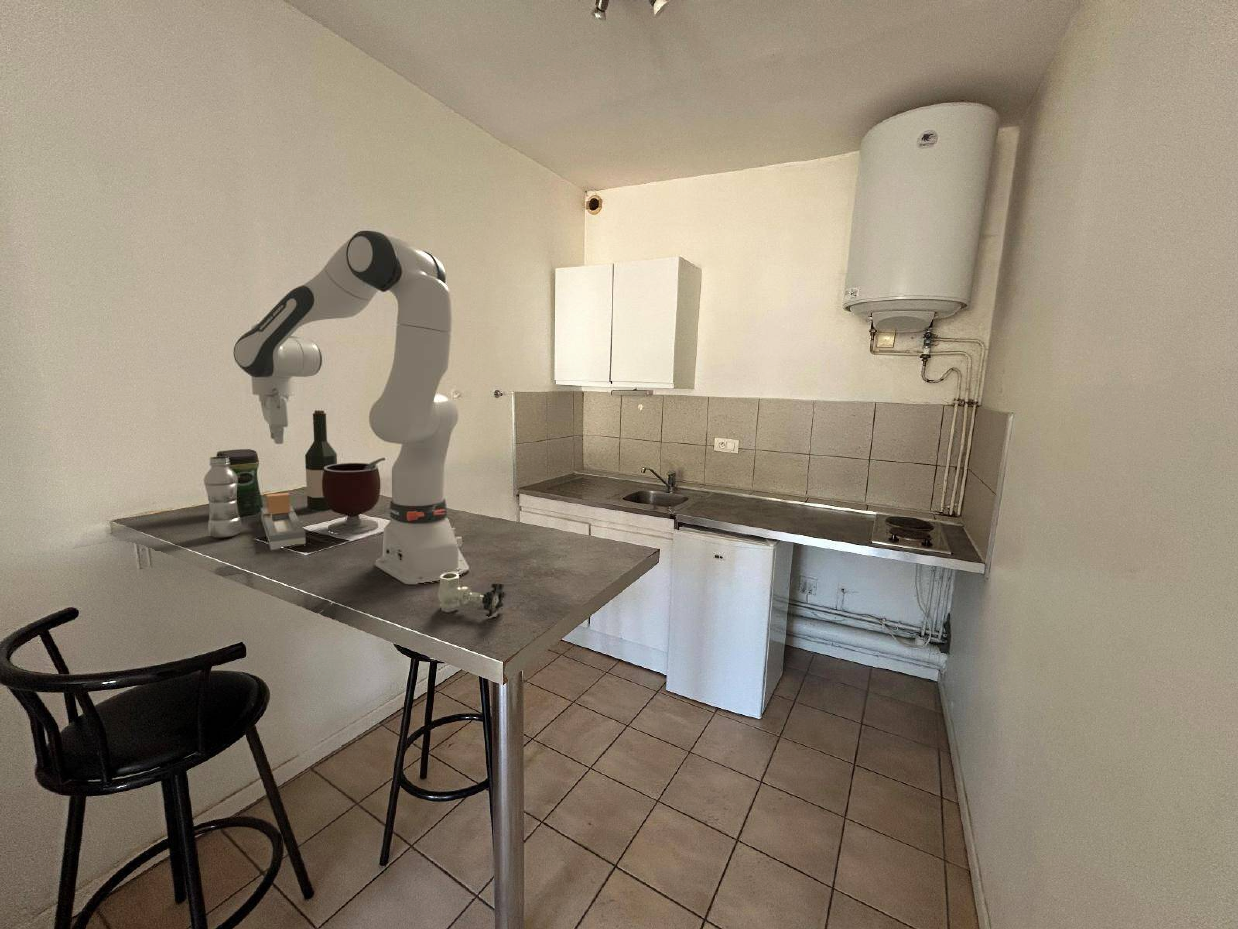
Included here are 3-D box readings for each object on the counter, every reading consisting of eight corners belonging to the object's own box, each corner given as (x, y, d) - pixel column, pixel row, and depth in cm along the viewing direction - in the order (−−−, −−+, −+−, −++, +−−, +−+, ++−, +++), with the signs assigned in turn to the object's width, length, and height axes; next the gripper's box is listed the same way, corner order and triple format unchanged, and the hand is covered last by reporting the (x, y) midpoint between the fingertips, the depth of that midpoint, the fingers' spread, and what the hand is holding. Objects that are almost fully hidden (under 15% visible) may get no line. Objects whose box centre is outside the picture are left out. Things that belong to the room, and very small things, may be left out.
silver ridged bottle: (249, 533, 125) (243, 456, 122) (225, 541, 119) (219, 460, 115) (225, 531, 126) (220, 454, 122) (201, 539, 119) (194, 458, 116)
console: (305, 545, 120) (305, 531, 119) (270, 550, 115) (269, 535, 115) (291, 516, 141) (290, 504, 140) (261, 520, 136) (260, 507, 136)
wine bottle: (336, 503, 158) (332, 409, 153) (341, 509, 151) (337, 412, 146) (305, 506, 152) (300, 409, 147) (309, 512, 146) (305, 411, 141)
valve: (428, 614, 90) (488, 626, 87) (428, 580, 89) (488, 591, 86) (449, 599, 96) (505, 610, 93) (449, 568, 95) (506, 577, 92)
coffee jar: (256, 507, 148) (252, 446, 144) (266, 512, 143) (262, 450, 140) (216, 513, 140) (211, 449, 137) (226, 519, 135) (220, 452, 132)
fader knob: (290, 518, 132) (289, 494, 131) (269, 521, 129) (267, 496, 128) (289, 515, 135) (288, 492, 134) (268, 518, 132) (266, 494, 131)
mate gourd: (314, 535, 127) (310, 459, 123) (337, 520, 140) (334, 451, 137) (377, 536, 129) (375, 461, 126) (394, 521, 142) (393, 453, 139)
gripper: (293, 390, 120) (296, 445, 123) (283, 387, 136) (286, 436, 138) (261, 389, 116) (265, 447, 119) (255, 386, 132) (259, 437, 134)
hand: (277, 441), depth 129 cm, fingers open, 8 cm apart
